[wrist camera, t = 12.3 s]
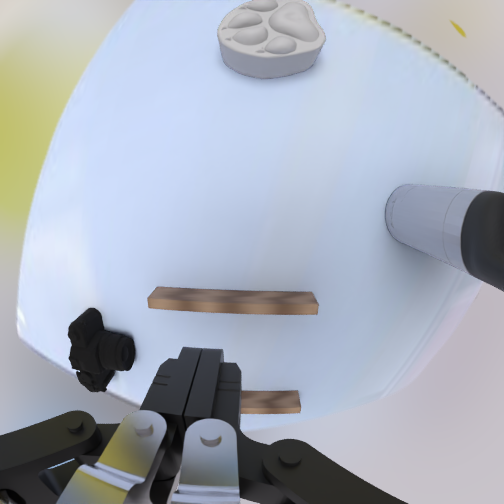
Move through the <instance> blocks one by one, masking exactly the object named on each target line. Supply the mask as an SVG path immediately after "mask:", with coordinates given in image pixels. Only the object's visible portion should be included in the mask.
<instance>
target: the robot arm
mask: <svg viewBox="0 0 504 504" xmlns="http://www.w3.org/2000/svg"><path fill="white" fill-rule="evenodd" d="M386 224H387V227H388V229H389V231H390V233H391V235H392V236H393V237H394V238H395V239H396V240H398V241H399V242H402V243H404V244H406V245H408V246H411V247H413V248H415V249H417V250H419V251H421V252H424V253H426V254H428V255H430V256H432V257H435V258H437V259H439V260H441V261H443V262H445V263H447V264H449V265H451V266H453V267H455V268H458V269H460V270H462V271H464V272H466V273H468V274H470V275H472V276H474V277H476V278H478V279H480V280H482V281H484V282H486V283H488V284H490V285H492V286H494V287H496V288H498V289H500V290H502V291H504V193H501V192H496V191H486V190H477V189H465V188H455V187H443V186H429V185H413V184H408V185H403V186H400V187H399V188H397V189H396V190H395V191H394V192H393V193H392V194H391V196H390V198H389V200H388V203H387V206H386ZM240 417H241V370H240V369H239V367H238V365H237V364H236V363H226V362H224V354H223V349H207V348H204V349H202V348H191V347H183V348H182V350H181V353H180V355H179V357H178V359H171V358H169V359H168V360H166V361H165V362H164V363H163V364H162V365H160V367H159V369H158V371H157V373H156V376H155V378H154V380H153V383H152V384H151V386H150V388H149V390H148V393H147V395H146V397H145V399H144V401H143V403H142V405H141V408H140V410H139V411H135V412H132V413H130V414H128V415H127V416H126V417H125V418H124V419H123V420H122V422H121V423H119V424H96V422H95V420H94V418H93V417H92V416H91V415H90V414H88V413H87V412H84V411H70V412H67V413H64V414H62V415H59V416H56V417H54V418H51V419H48V420H46V421H43V422H40V423H37V424H34V425H31V426H29V427H26V428H23V429H20V430H17V431H14V432H10V433H7V434H4V435H0V504H240V498H243V499H246V500H249V501H253V502H257V503H260V504H408V503H406V502H404V501H402V500H400V499H397V498H396V497H393V496H392V495H390V494H388V493H386V492H384V491H382V490H380V489H378V488H377V487H375V486H373V485H371V484H370V483H368V482H366V481H364V480H363V479H361V478H359V477H358V476H356V475H354V474H353V473H351V472H349V471H348V470H346V469H345V468H343V467H341V466H340V465H338V464H337V463H335V462H334V461H332V460H331V459H329V458H328V457H326V456H325V455H323V454H322V453H320V452H319V451H317V450H316V449H315V448H313V447H312V446H310V445H309V444H307V443H306V442H303V441H300V440H295V439H284V440H279V441H277V442H274V443H272V444H271V445H267V444H263V443H259V442H256V441H253V440H251V439H249V438H248V437H246V436H245V435H244V434H243V433H242V432H241V430H240ZM73 458H74V459H75V460H72V461H70V462H68V463H65V464H62V465H60V466H57V467H55V468H52V469H47V468H50V467H52V466H55V465H58V464H60V463H63V462H65V461H68V460H70V459H73ZM180 467H181V468H180ZM178 483H179V487H178V490H177V491H176V489H177V486H178Z"/></svg>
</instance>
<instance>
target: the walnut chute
mask: <svg viewBox="0 0 504 504" xmlns="http://www.w3.org/2000/svg"><path fill="white" fill-rule="evenodd" d="M147 299H148V308H153V309H165V310H178V311H193V312H211V313H234V314H276V315H314V314H317V313H318V306H319V304H318V302H317V300H316V299H315V297H314V295H313V293H312V292H278V291H238V290H212V289H190V288H172V287H157V288H156V289H155V290H154V291H153V292H152V293H151V295H150V296H149V297H148V298H147ZM300 411H301V404H300V399H299V394H298V391H241V414H288V413H300Z"/></svg>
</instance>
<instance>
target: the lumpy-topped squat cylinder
mask: <svg viewBox="0 0 504 504" xmlns="http://www.w3.org/2000/svg"><path fill="white" fill-rule="evenodd" d="M217 36H218V40H219V45H220V49H221V54H222V58H223V61H224V63H225V64H226V65H227V66H228V67H229V68H230V69H232V70H234V71H235V72H237V73H239V74H242V75H246V76H250V77H254V78H260V79H271V78H278V77H284V76H289V75H292V74H296V73H300V72H303V71H306V70H308V69H309V68H310V67H311V66H312V65H313V63H314V62H315V60H316V58H317V56H318V54H319V52H320V51H321V49H322V47H323V45H324V43H325V40H326V36H325V33H324V31H323V29H322V28H321V26H320V25H319V24H318V22H317V20H316V18H315V15H314V11H313V9H312V7H311V6H310V5H309V4H308V3H307V2H305V1H303V0H252V1H249V2H246V3H244V4H242V5H240V6H238V7H237V8H235V9H234V10H232V11H231V12H230V13H228V14H227V15H226V16H225V17H224V19H223V20H222V21H221V23H220V25H219V27H218V31H217Z"/></svg>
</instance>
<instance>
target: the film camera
mask: <svg viewBox="0 0 504 504" xmlns="http://www.w3.org/2000/svg"><path fill="white" fill-rule="evenodd" d="M68 330H69V331H68V337H69V338H70V340H71V344H72V346H71V350H70V356H69V360H70V362H71V365H72V369H76V370H80V372H78V371H76V375H77V377H78V380H79V382H80V383H81V384H82V385H83V386H85V387H86V388H87V389H88V390H89V391H91V392H99V391H102V392H105V391H106V390H107V389H106V387H107V385H108V384H109V382H110V381H111V379H112V377H113V376H114V374H115V372H114V370H117V371H124V370H126V371H129V370H130V369H131V368H132V365H133V363H134V358H135V348H134V343H133V340H132V339H131V338H129V337H126V336H124V335H117V334H114V333H110V332H109V331H105V330H104V326H103V322H102V316H101V313H100V312H99V311H98V310H97V309H95V308H89V309H87V310H86V311H85V312H84V313H83V314H81V315H80V316H79V317H78V318H77V319H76V320H75V321H73V322H72V323H71V324H70V326H69V329H68Z"/></svg>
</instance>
